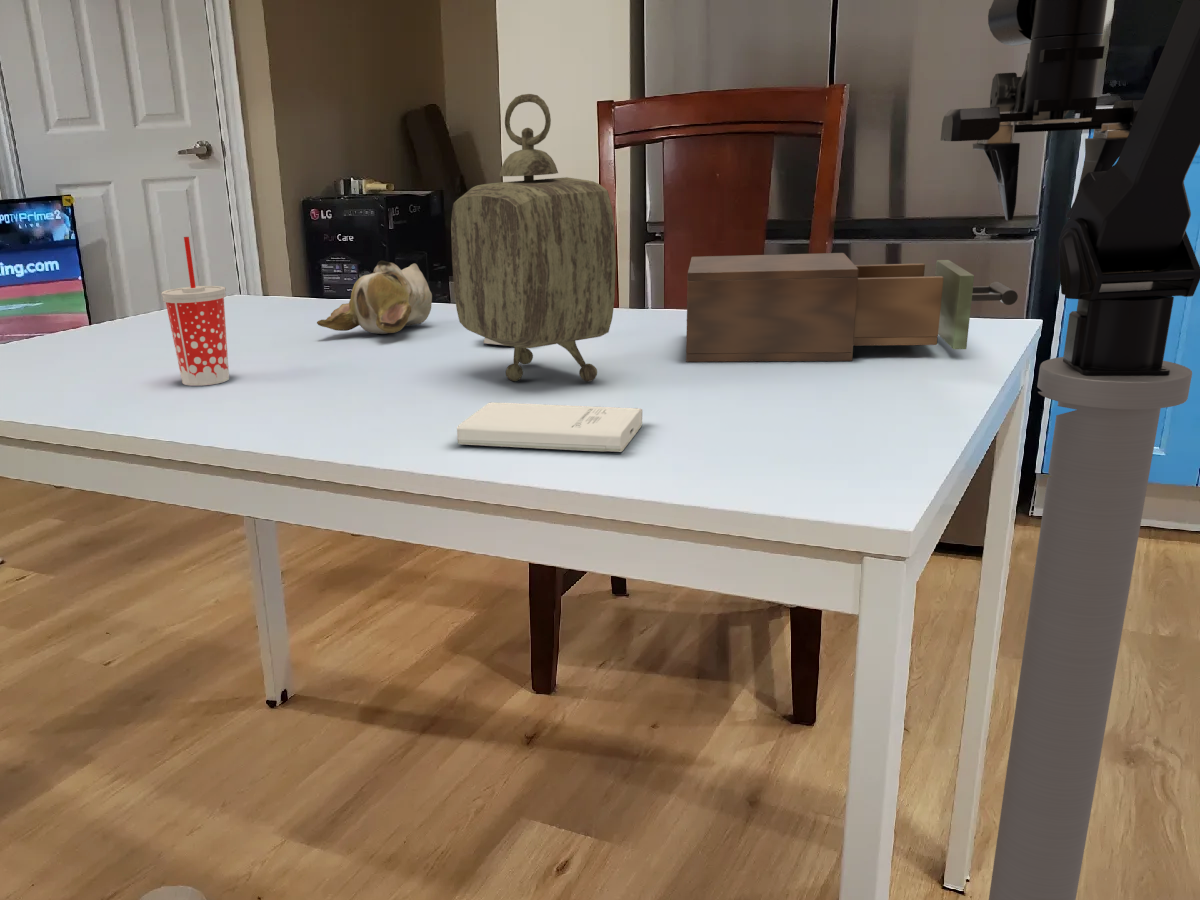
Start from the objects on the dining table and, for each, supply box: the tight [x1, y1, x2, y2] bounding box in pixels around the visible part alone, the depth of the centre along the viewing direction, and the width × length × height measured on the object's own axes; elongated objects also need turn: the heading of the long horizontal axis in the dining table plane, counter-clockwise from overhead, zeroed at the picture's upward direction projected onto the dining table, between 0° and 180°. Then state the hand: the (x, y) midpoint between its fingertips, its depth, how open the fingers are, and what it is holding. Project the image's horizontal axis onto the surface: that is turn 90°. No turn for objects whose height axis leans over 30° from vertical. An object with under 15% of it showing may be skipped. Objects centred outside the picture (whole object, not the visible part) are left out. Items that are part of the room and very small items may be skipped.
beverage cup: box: [160, 236, 230, 387], centre depth 107 cm, size 6×6×14 cm
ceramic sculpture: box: [316, 260, 433, 335], centre depth 131 cm, size 11×9×15 cm
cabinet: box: [685, 252, 859, 363], centre depth 111 cm, size 16×14×9 cm
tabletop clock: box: [450, 93, 617, 382], centre depth 100 cm, size 14×9×25 cm, turn 31°
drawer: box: [853, 259, 1019, 350], centre depth 108 cm, size 19×12×7 cm, turn 78°
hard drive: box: [456, 401, 643, 453], centre depth 83 cm, size 2×8×12 cm
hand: (1043, 219), depth 103 cm, fingers open, 6 cm apart
